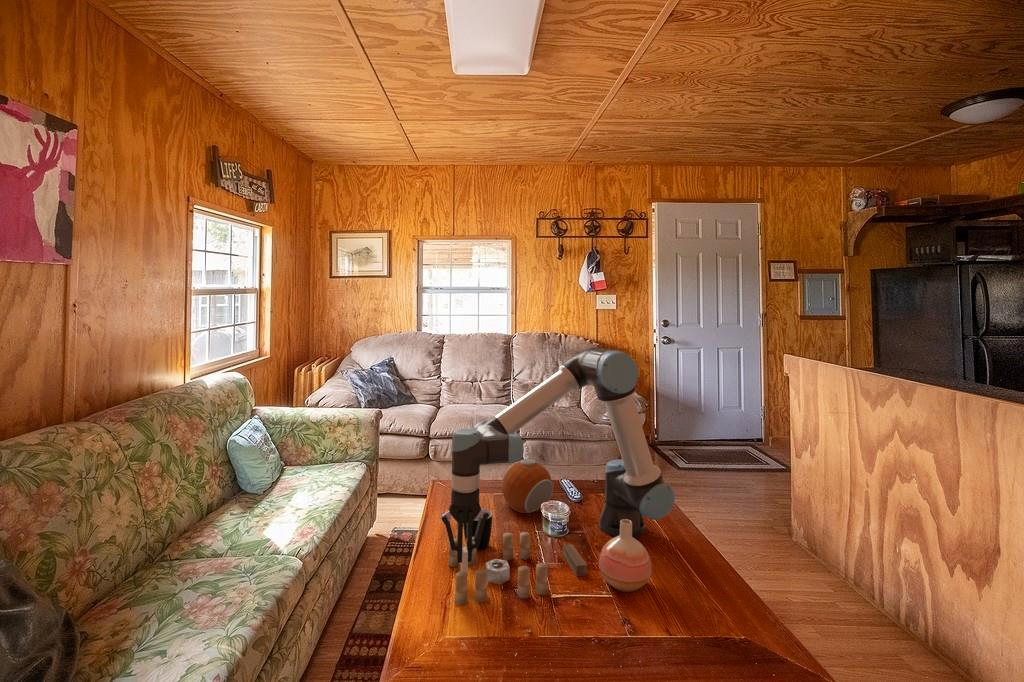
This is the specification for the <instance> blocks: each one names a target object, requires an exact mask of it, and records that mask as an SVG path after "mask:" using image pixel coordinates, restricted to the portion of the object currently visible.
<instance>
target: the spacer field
mask: <svg viewBox="0 0 1024 682" xmlns="http://www.w3.org/2000/svg"><path fill="white" fill-rule="evenodd" d="M453 538H454V542H455V543H456V544H457V537H456V538H455V537H453ZM473 540H474V537H472V542H473ZM465 547H467V538H466V542H465ZM530 550H531V533H530V532H528V531H522V532H520V533H519V558H520V559H521V560H523V561H525V560H530V556H531V555H530V554H531V551H530ZM513 559H514V534H513V533H512V532H504V533H503V534H502V560H506V561H511V560H513ZM476 564H477V551H476V548H474V549H473V551H472V560H471V562H468V566H475V565H476ZM459 565H460V563H458V561H457V551H456V550H452V549H451V546H450V542H449V541H448V566H449V567H451V568H457V567H458V566H459ZM535 566H536V567H535V593H536V595H539V596H546V595H547V594H548V579H549V578H548V575H549V574H548V573H549V565H548V564H547V563H544V562H539V563H537V564H535ZM530 571H531V568H530V567H528V566H527V565H520V566H518V567H517V597H518V598H520V599H522V600H525V599H528V598H529V597H530V580H531V579H530V578H531V577H530V576H531V575H530ZM474 574H475V575H474V578H475V579H474V580H475V581H474V595H475V596H474V601H475V602H476V603H479V604H483V603H485V602H487V600H488V581H487V571H486V569H477V570H476V571H475V573H474ZM454 576H455V578H454V580H455V585H454V587H455V588H454V589H455V590H454V592H455V593H454V594H455V596H454V597H455V600H454V602H455V605H457V606H465V605H466V604H468V576H467V573H466V572H461V571H458V572H456V573H455V574H454Z"/></svg>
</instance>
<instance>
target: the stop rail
mask: <svg viewBox="0 0 1024 682" xmlns="http://www.w3.org/2000/svg"><path fill="white" fill-rule="evenodd" d="M561 554H562V555H561V556H563V557H564V560H565V561H566V562H567V565H568V566H569V568H570V569H571V571H572V572H573V574H574V575H575V577H585V576H587V575H588V574H587V573H588V569H587V568H588V565H587V563H586V561H585V560H584V558H582V555H580V553H579V551H578V550H577V549H576V548H575V546H574V545H573V544H572V543H571V544H570V543H568V544H562V553H561Z"/></svg>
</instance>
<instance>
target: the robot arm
mask: <svg viewBox="0 0 1024 682" xmlns="http://www.w3.org/2000/svg"><path fill="white" fill-rule="evenodd" d="M638 379H639V368H638V364H637V362H636V361H635V360H634V358H633V357H631V356H630V354H628V353H625V352H622V351H620V350H618V349H617V350H616V349H608V348H607V349H605V348H600V347H589V348H585V349H584V350H582V351H580V352H578V353H577V354H575V355H573V356H572V357H570V358H569V359H567V360H566V361H565V362H563V363H562V364H561V365H559V366H558V369H557V371H556V372H555V373H554V374H552V375H550V376H549V377H547V379H545V380H544V381H542V382H541V383H540V384H538V385H536V386H535V387H534V388H532V389H531V390H529V391H528V392H527V393H526V394H524V395H523V396H522V397H520V398H518V399H517V400H516V401H514V403H512V404H510V405H509V406H508V407H506V408H505V409H503V410H502V411H500V412H498V414H496V415H495V416H494V417H492V418H491V419H489V420H488V421H485V420H484V421H483V420H482V421H479V422H477V423H476V424H475V425H474V426H473V428H460V429H457V430H455V431H454V432H453V433H452V436H451V447H450V449H451V483H450V484H451V485H450V487H451V490H450V491H451V492H450V493H451V494H450V505H449V508H448V510H447V511H446V512H442V513H441V514H440V518H441V521H442V523H443V524H444V525H445V528H446V532H447V537H448V543H449V542H450V546H451V549H452V550H456V551H457V561H458V563H459V564H460V572H466V573H467V577H468V575H469V573H468V572H469V571H468V570H469V569H468V568H469V567H468V566H469V565H468V562H471V560H472V551H473V549H474V548H478V547H479V544H480V540H481V536H482V532H483V528H484V524H485V521H486V520H487V518H488V517H489V514H488V511H487V510H488V509H487V510H483V509H484V508H482V506H481V505H480V486H481V485H480V483H481V481H480V479H481V478H480V477H481V476H480V472H481V466H482V465H484V466H486V465H496V464H510V463H516V462H518V461H521V460H523V457H524V449H525V448H524V447H525V446H524V441H523V438H522V436H520V434H518V433H516V432H518V431H519V430H521V429H522V428H523V427H525V426H526V425H528V423H531V422H532V421H533V420H534V419H536V418H537V417H538V416H539V415H541V414H542V413H544V412H545V411H546V410H548V409H550V407H552V406H554V404H557V403H558V402H559V401H560V400H562V399H563V398H564V397H565V396H567V395H568V394H570V393H571V392H573V391H575V392H578V391H580V390H581V389H582V388H584V387H586V386H593V388H594V391H595V394H596V397H597V400H598V401H599V402H601V403H603V404H604V406H605V408H606V409H605V410H606V412H607V415H608V418H609V421H610V424H611V425H610V426H611V428H612V432H613V434H614V437H615V441H616V444H617V447H618V450H619V453H620V456H621V459H619V458H618V459H613V460H609V461H608V462H607V463H606V465H605V470H604V474H605V479H604V481H605V483H604V484H605V485H604V491H605V492H604V505H603V508H602V511H601V512H600V516H599V519H598V526H599V529H600V530H601V531H602V532H603V533H605V534H607V535H609V536H612V537H617V536H619V535H620V521H621V520H622V519H628V520H630V521H632V537H633V538H638V537H641V536H642V535H643V534H644V533H645V530H646V523H645V520H644V517H645V518H647V519H649V520H653V521H659V520H661V519H663V518H665V517H666V516H667V515H668V514H669V513H670V512H671V511H672V508H673V507H674V504H675V501H676V500H675V499H676V493H675V491H674V489H673V488H672V487H671V485H670V484H668V483H665V480H664V478H663V474H662V471H661V468H660V467H659V466H658V465H655V464H654V462H653V458H652V455H651V451H650V448H649V445H648V442H647V438H646V435H645V432H644V429H643V424H642V421H641V419H640V415H639V412H638V408H637V405H636V402H635V401H636V400H635V398H634V394H635V393H636V391H637V386H636V385H637V383H638ZM481 508H482V509H481ZM478 514H479V516H480V517H479V521H478V525H477V529H476V533H475V536H474V540H473V542H472V527H473V521H474V519H475V518H476V517H477V515H478ZM452 517H453V519H454V520H455V521H456V525H457V526H456V529H457V530H456V533H457V534H456V538H457V544H456V543H455V542H454V538H455V537H454V535H453V530H452V526H451V522H450V520H451V518H452ZM463 523H467V547H466V546H464V547H463V545H464V544H463V541H464V540H463V539H464V535H463V533H464V526H463Z"/></svg>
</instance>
